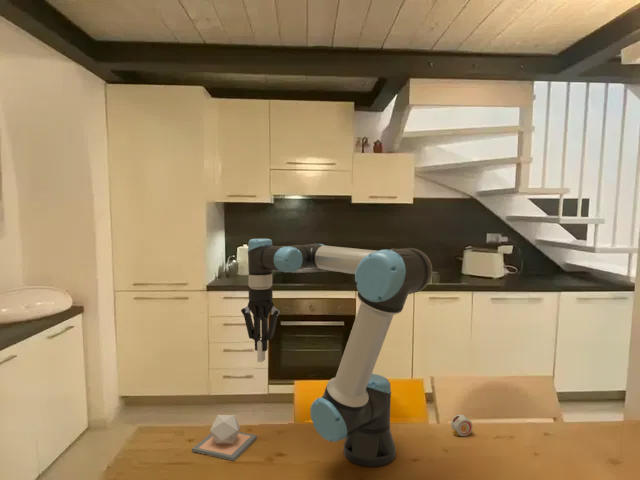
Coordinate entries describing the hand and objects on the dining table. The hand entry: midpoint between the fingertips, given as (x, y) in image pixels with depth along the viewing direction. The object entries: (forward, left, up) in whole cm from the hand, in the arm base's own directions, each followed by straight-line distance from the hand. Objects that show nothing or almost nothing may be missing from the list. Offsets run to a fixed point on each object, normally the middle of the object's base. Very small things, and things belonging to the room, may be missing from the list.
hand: (261, 360), depth 147 cm
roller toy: (-61, -21, -23) cm, 68 cm away
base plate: (+6, +12, -23) cm, 27 cm away
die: (+6, +12, -22) cm, 26 cm away
